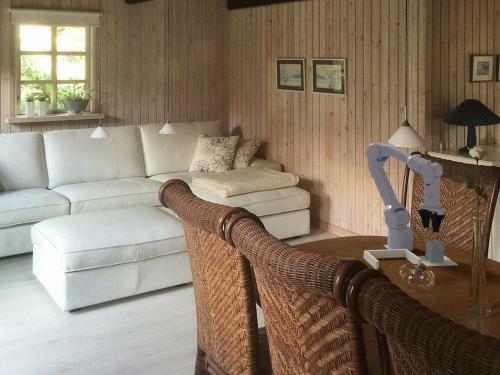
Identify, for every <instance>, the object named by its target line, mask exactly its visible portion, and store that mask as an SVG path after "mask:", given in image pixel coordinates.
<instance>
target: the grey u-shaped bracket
mask: <svg viewBox="0 0 500 375" xmlns="http://www.w3.org/2000/svg"><path fill="white" fill-rule="evenodd" d="M417 256H418V255H416V254H415V253H413V252H411V250H407V249H390V250H388V249H369V250H363V259H364V260H365V261H366V262H367V263H368V264H369V265H370V266H371V267H373V269H375V270H379V269H380V268H379V266H380V265H379V262H380V261H379V260H378V259H390V258H392V259H393V258H394V259H395V258H405V259H407V260H408V261H409V262H410V263H411V264H413V265H414V264H418V265H421V266H422V263H421V259H420V258H419V257H417Z"/></svg>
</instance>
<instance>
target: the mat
mask: <svg viewBox="0 0 500 375" xmlns="http://www.w3.org/2000/svg"><path fill="white" fill-rule="evenodd" d="M416 256H417V257H419V258H420V259H421V264H423V265H424V266H426V268H427V267H429V268H430V267H447V266H448V267H449V266H459V263H456V262H455V261H453V260H452V259H451V258H449V257H447V256H446V255H444V262H435V263H430V262H429V261H428V260H426V259H425V255H416Z"/></svg>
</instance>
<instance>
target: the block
mask: <svg viewBox="0 0 500 375" xmlns="http://www.w3.org/2000/svg"><path fill="white" fill-rule="evenodd" d="M424 256H425V259H426V260H428V261H429V262H430V263H435V262H444V256H445V243H444V242H442V241H441V240H425V254H424Z"/></svg>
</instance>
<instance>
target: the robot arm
mask: <svg viewBox="0 0 500 375" xmlns="http://www.w3.org/2000/svg"><path fill="white" fill-rule="evenodd" d="M365 155H366V157H367V167H368V170H369V172H370V175H371V177H372V180H373V181H374V184H375V186H376V188H377V190H378V193H379V195H380V198H381V200H382V202H383V204H384V206H385V207H384V210H383V216H384V222H385V225H386V226H387V244H384V245H383V246H384V248H386V250H390V249H407V250H409V251H414V248H413V242H414V241H413V240H414V232H413V229H412V227H411V226H408V224H410V222H411V218H412V216H411V214H410V212H409V211H408V210H407V208H405V205H404V204H403V203H401V202H399V201H398V197H397V196H396V193H395V191H394V188H393V186H392V184H391V182H390V180H389V178H388V174H387V173H386V171H385V169H384V165H385V163H386V162H387V161H388V159H389V158H390V157H391V158H394V159H396V160H399V161H401V162H403V163H406V165H407V167H408V168H409V169H410V170H412V171H414V172H416V173H418V174H420V175H421V177H422V179H423V202H420V203H419V209H418V210H417V212H418V215H419V217H420V221H421V224H422V225H421V226H422V229H428V228H430V225H431V229H432V233H439V231H440V228H441V225H442V222H443V220H444V219H445V218H446V214H445V213H444V209H443V208H442V207H441V206H440V196H441V195H440V191H441V186H440V185H441V177H442V176H443V174H444V167H443V166H442V165H441V164H440V163H439V162H432V160H430V159H426V158H423V157H422V155H421V154H413V155H412V154H409V153H407V152H406V151H404V150H402V149H400V148H399V147H397V146H395V144H393V143H390V142H388V141H383V142H372V143H369V144H368V145H367V147H366V149H365ZM430 222H431V224H430Z"/></svg>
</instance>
